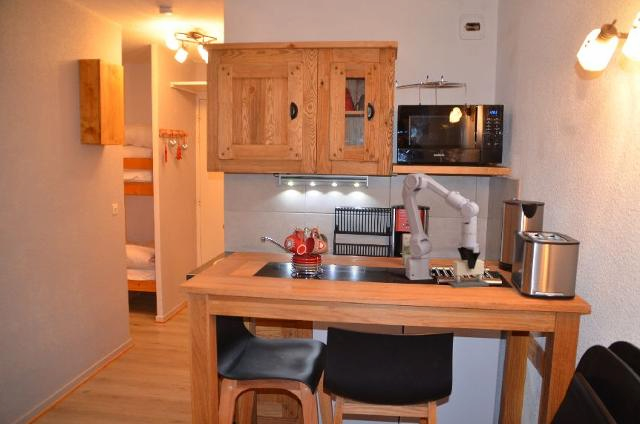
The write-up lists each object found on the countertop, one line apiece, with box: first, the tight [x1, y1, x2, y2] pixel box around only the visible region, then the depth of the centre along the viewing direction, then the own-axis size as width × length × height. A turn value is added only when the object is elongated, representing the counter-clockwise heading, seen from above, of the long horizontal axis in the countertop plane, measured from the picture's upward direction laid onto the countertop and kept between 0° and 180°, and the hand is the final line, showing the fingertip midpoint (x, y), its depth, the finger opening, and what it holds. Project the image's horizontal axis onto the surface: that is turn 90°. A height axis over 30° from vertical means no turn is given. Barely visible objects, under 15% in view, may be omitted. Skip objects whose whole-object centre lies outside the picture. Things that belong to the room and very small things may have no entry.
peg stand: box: [447, 274, 490, 289], centre depth 196 cm, size 14×7×4 cm, turn 96°
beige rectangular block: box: [452, 259, 485, 276], centre depth 196 cm, size 11×4×5 cm, turn 97°
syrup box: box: [401, 233, 412, 267], centre depth 232 cm, size 6×6×14 cm
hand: (468, 267), depth 196 cm, fingers open, 5 cm apart
